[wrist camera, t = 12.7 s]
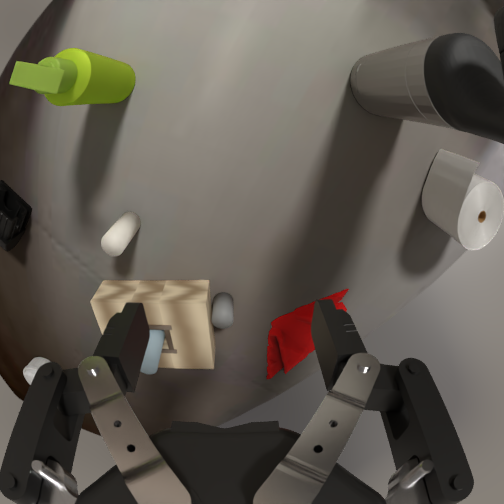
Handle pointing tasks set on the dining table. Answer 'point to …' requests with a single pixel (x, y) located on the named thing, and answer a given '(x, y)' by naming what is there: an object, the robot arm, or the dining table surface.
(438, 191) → the toilet tissue
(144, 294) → the hole block
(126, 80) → the soap dispenser
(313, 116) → the dining table surface
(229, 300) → the short pin
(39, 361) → the ramekin
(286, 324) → the cloth
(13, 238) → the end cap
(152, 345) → the long pin
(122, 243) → the medium pin
